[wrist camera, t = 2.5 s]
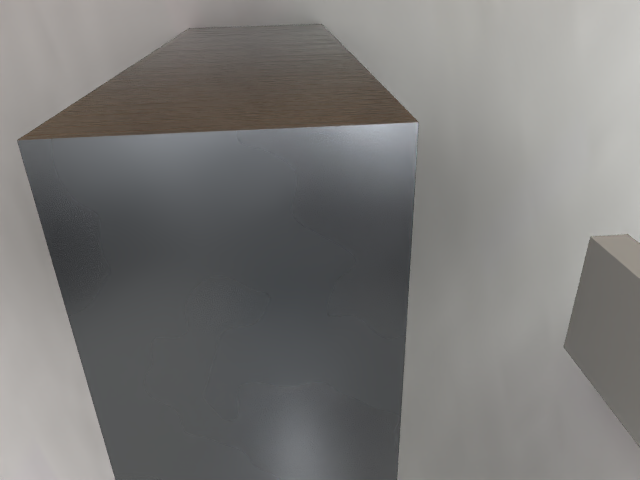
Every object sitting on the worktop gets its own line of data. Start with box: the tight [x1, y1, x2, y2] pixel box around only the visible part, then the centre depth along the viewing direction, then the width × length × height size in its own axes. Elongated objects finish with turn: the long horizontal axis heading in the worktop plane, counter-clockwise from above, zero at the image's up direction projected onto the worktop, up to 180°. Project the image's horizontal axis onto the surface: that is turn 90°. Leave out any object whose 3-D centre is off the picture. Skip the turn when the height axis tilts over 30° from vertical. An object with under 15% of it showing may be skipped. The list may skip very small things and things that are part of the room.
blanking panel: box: [17, 24, 419, 480], centre depth 13 cm, size 10×4×12 cm, turn 1°
